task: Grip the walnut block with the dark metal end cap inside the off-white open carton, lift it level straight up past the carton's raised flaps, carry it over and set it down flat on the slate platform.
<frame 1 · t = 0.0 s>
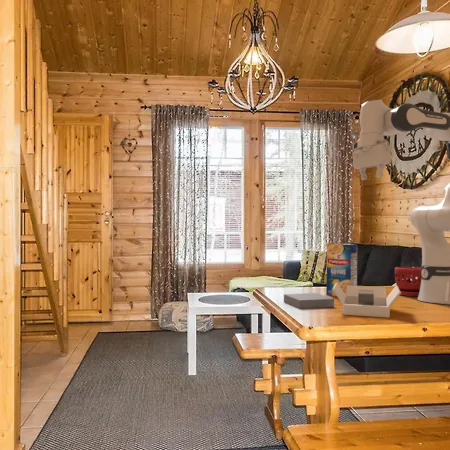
hand: (371, 178, 180), 48 cm above the table, tool pointing down, fingers open, 8 cm apart
plant pot: (410, 295, 204), on the table
walnut block: (365, 301, 166), in the carton
slate platform: (308, 304, 178), on the table
carton: (365, 311, 166), on the table
blue cardboard box: (341, 295, 201), on the table
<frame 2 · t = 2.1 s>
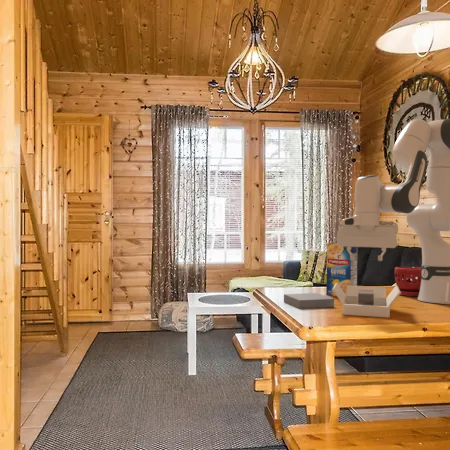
hand: (366, 260, 166), 18 cm above the table, tool pointing down, fingers open, 8 cm apart
nothing on the table moved.
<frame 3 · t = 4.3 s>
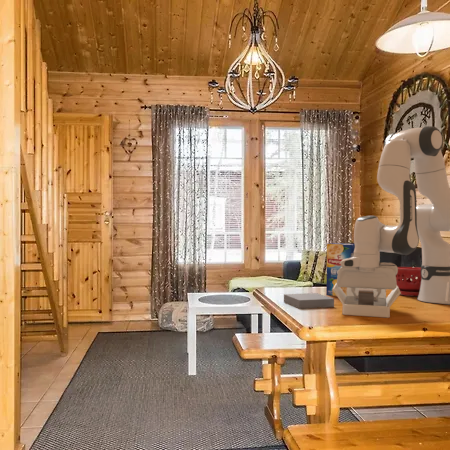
hand: (365, 300, 166), 4 cm above the table, tool pointing down, fingers closed on walnut block, 5 cm apart
walnut block: (365, 301, 166), in the carton, touching gripper
everything else where it was.
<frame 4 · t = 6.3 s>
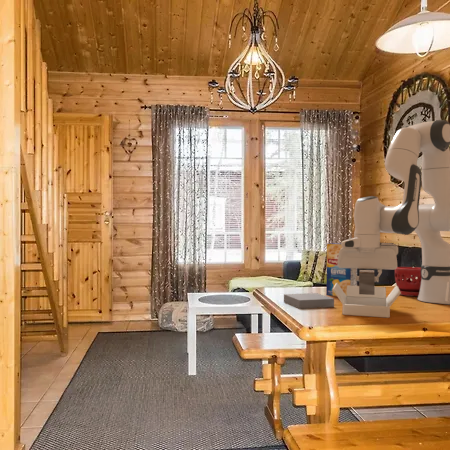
hand: (366, 281, 166), 10 cm above the table, tool pointing down, fingers closed on walnut block, 5 cm apart
walnut block: (366, 281, 166), point 10 cm above the table, touching gripper
everything else where it was.
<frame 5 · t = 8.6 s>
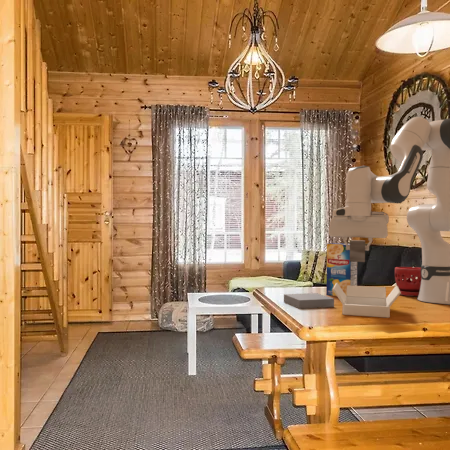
hand: (357, 250, 167), 21 cm above the table, tool pointing down, fingers closed on walnut block, 5 cm apart
walnut block: (357, 250, 167), point 21 cm above the table, touching gripper
everything else where it was.
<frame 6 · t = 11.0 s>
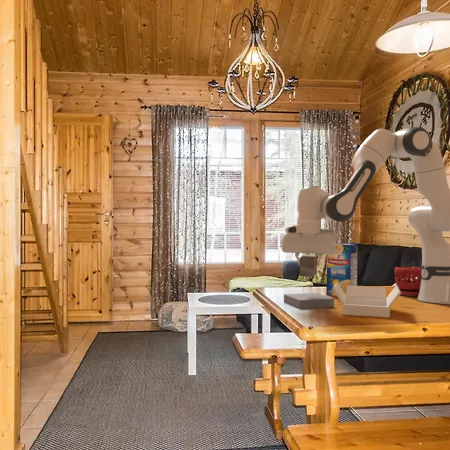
hand: (308, 265, 178), 15 cm above the table, tool pointing down, fingers closed on walnut block, 5 cm apart
walnut block: (308, 265, 178), point 15 cm above the table, touching gripper
everything else where it was.
when the fingers open (8 cm above the table, at t = 13.0 s): walnut block drops 1 cm, resting on slate platform.
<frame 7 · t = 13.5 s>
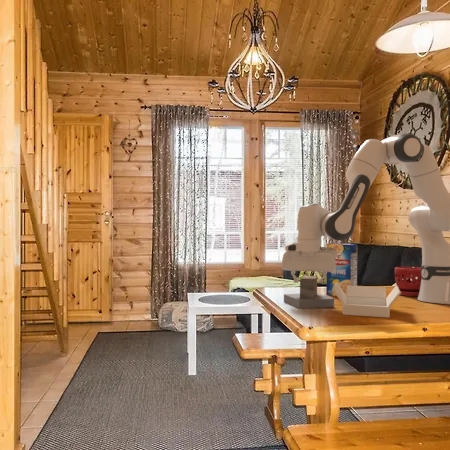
hand: (308, 283, 178), 8 cm above the table, tool pointing down, fingers open, 8 cm apart
walnut block: (308, 287, 178), on the slate platform, point 6 cm above the table
everything else where it was.
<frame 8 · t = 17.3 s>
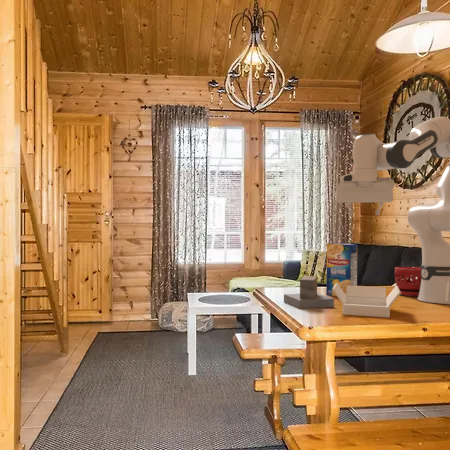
hand: (364, 214, 174), 34 cm above the table, tool pointing down, fingers open, 8 cm apart
nothing on the table moved.
at the end: walnut block inside the target area on the slate platform (0.1 cm from its centre), point 6.5 cm above the slate platform's base; walnut block tilted 0°; the gripper is holding nothing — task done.
